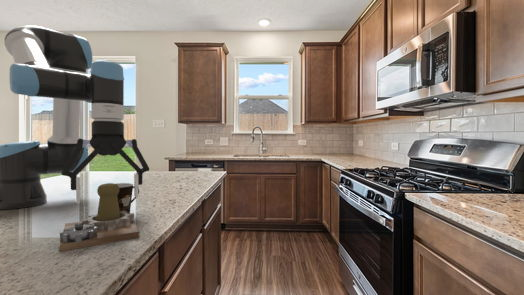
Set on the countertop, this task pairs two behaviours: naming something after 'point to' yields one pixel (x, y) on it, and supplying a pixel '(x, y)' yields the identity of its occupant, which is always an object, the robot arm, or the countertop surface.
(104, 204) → the cork
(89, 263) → the countertop surface
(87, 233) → the gear
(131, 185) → the coffee mug
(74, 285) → the countertop surface
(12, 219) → the countertop surface
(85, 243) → the gear board
